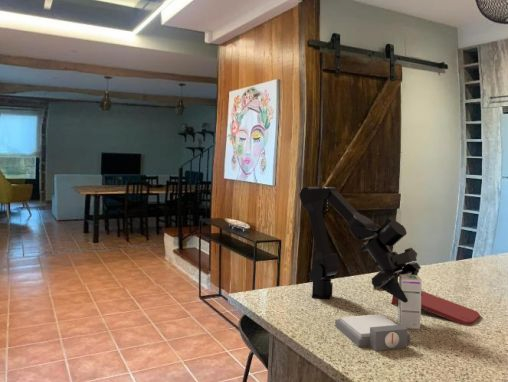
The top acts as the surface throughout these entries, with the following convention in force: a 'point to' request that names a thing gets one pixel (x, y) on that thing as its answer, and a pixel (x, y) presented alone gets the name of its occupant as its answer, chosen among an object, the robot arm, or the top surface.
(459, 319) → the red wedge doorstop
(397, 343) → the kitchen scale
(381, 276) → the robot arm
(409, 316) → the syrup box
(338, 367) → the top surface
